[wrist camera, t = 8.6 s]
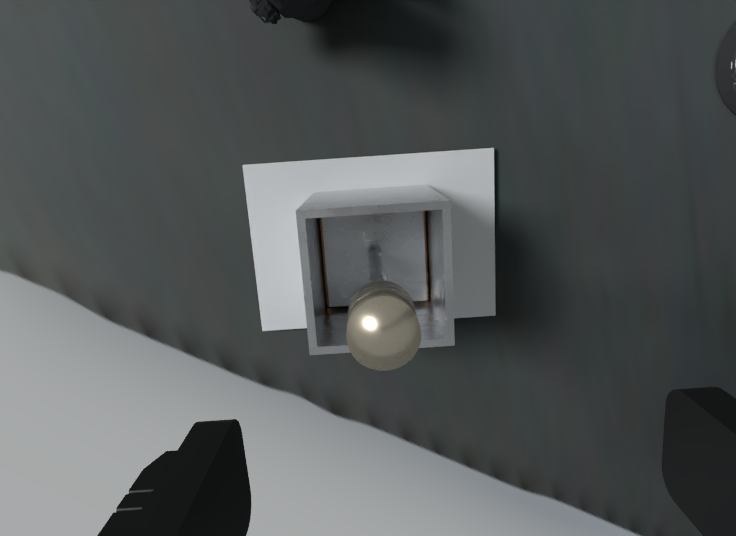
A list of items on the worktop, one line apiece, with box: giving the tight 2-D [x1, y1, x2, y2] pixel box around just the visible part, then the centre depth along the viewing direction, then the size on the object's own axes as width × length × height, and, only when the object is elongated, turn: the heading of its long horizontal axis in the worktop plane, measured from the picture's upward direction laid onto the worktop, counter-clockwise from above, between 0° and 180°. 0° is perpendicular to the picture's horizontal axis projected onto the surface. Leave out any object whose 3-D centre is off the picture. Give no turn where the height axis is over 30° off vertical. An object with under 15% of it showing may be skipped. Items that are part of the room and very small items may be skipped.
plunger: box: [322, 211, 427, 371], centre depth 30 cm, size 7×7×17 cm
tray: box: [243, 148, 496, 331], centre depth 43 cm, size 20×14×1 cm
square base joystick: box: [296, 184, 455, 355], centre depth 37 cm, size 9×9×12 cm
